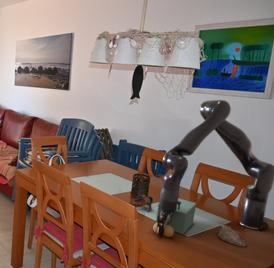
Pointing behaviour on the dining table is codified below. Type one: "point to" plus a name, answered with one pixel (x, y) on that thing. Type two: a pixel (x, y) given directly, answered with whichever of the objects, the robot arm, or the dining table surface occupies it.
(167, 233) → the potato
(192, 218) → the bin
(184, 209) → the bin lid
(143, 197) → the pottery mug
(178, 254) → the dining table surface
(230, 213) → the dining table surface
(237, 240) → the oyster shell
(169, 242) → the dining table surface
